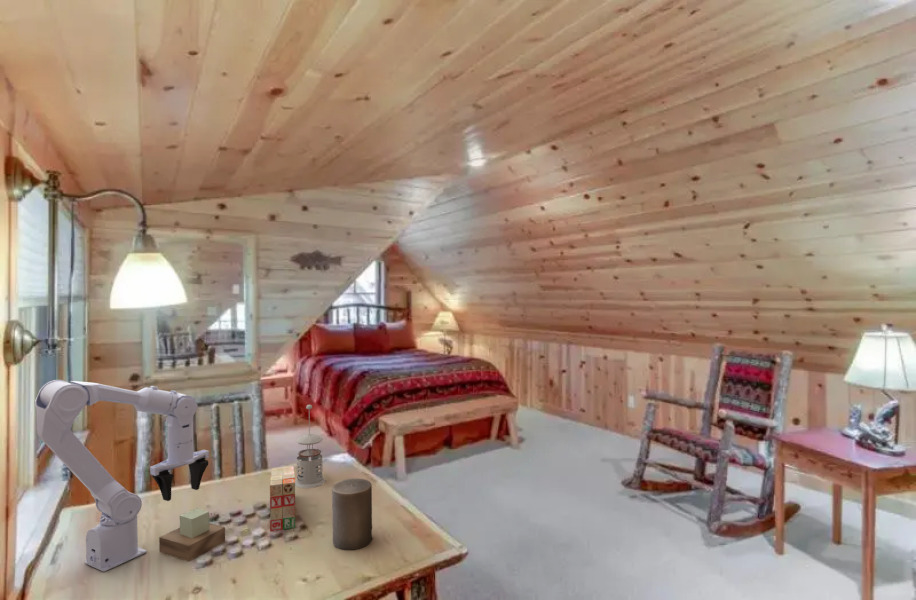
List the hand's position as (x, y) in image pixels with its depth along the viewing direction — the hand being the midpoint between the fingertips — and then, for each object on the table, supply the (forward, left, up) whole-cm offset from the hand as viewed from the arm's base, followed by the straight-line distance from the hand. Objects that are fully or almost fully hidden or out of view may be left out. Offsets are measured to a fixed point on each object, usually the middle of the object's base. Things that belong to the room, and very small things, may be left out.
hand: (181, 494), depth 130 cm
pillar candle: (+17, -41, -10) cm, 46 cm away
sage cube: (-3, -9, -6) cm, 12 cm away
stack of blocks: (+20, -14, -10) cm, 27 cm away
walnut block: (-3, -9, -10) cm, 14 cm away
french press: (+41, -4, -10) cm, 42 cm away
